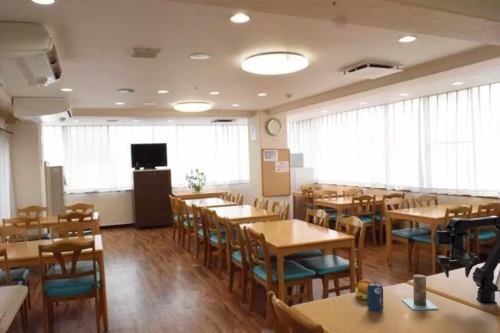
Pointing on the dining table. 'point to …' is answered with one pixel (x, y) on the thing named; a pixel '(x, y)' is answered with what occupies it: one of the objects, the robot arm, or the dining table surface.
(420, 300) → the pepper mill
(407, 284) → the dining table surface
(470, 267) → the robot arm
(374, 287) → the soda can
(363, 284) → the cheeseburger
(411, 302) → the board
